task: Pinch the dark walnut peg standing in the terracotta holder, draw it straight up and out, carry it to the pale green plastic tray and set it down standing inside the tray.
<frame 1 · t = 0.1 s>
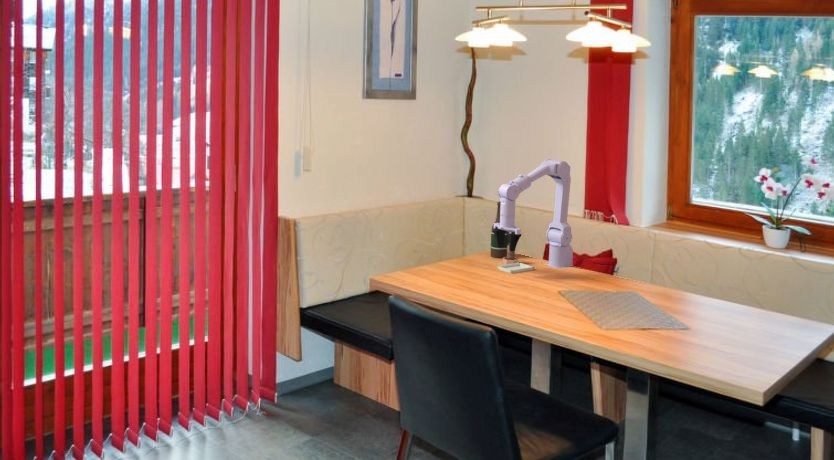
hand: (506, 249, 346), 10 cm above the table, tool pointing down, fingers open, 7 cm apart
peg: (510, 263, 364), resting on holder
holder: (510, 264, 364), on the table
beer bottle: (499, 258, 376), on the table
tray: (515, 270, 354), on the table
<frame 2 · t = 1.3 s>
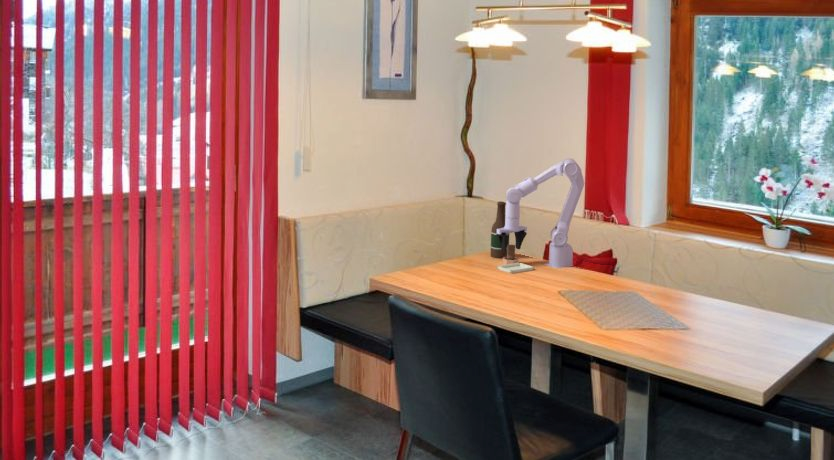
hand: (510, 249, 363), 6 cm above the table, tool pointing down, fingers open, 7 cm apart
nothing on the table moved.
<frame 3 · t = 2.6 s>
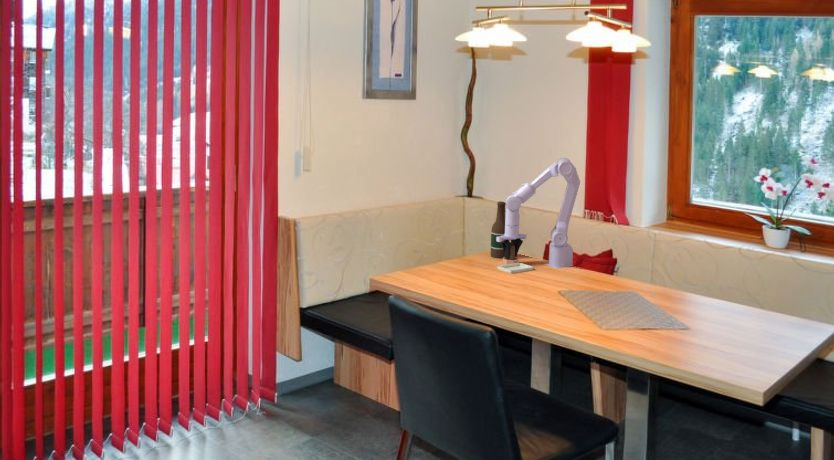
hand: (510, 257, 364), 3 cm above the table, tool pointing down, fingers closed on peg, 3 cm apart
peg: (510, 263, 364), resting on holder, touching gripper
everything else where it was.
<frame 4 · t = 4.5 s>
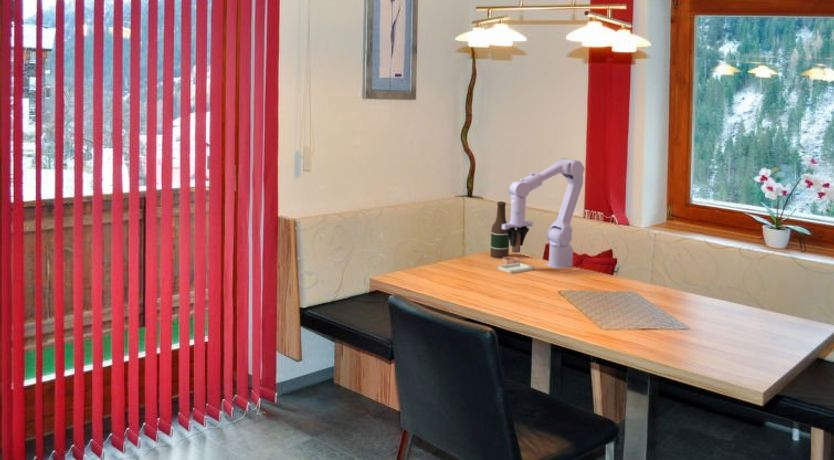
hand: (516, 245, 352), 10 cm above the table, tool pointing down, fingers closed on peg, 3 cm apart
peg: (516, 251, 353), point 8 cm above the table, touching gripper
everything else where it was.
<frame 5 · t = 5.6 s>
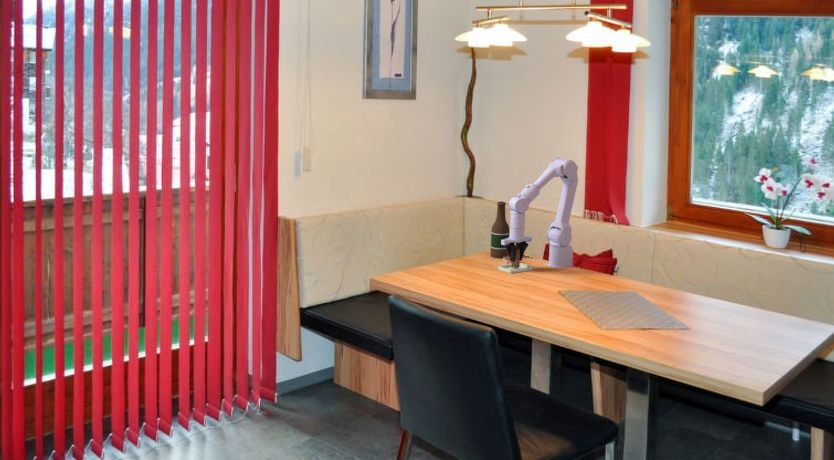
hand: (515, 260, 354), 4 cm above the table, tool pointing down, fingers closed on peg, 3 cm apart
peg: (515, 266, 354), point 1 cm above the table, touching gripper
everything else where it was.
when the fingers open (4 cm above the table, at t = 6.3 s): peg stays where it is, resting on tray.
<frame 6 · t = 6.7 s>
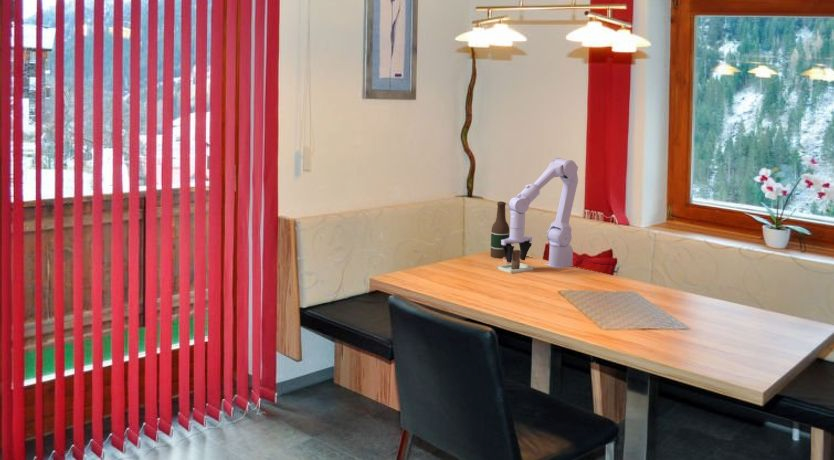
hand: (515, 260, 354), 4 cm above the table, tool pointing down, fingers open, 7 cm apart
peg: (515, 268, 354), point 1 cm above the table, touching tray
everything else where it was.
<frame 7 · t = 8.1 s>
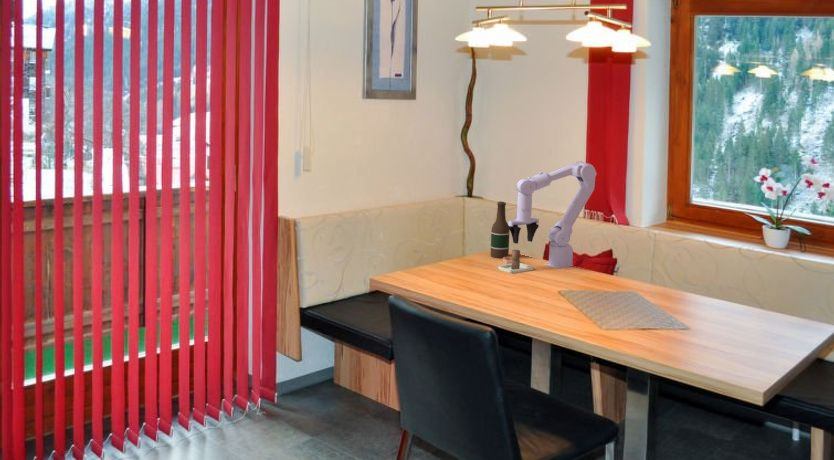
hand: (522, 242, 358), 10 cm above the table, tool pointing down, fingers open, 7 cm apart
nothing on the table moved.
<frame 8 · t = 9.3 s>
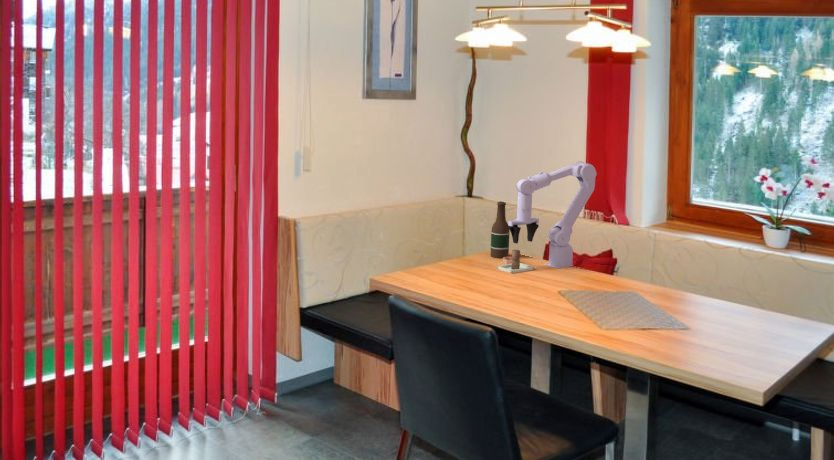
hand: (522, 242, 358), 10 cm above the table, tool pointing down, fingers open, 7 cm apart
nothing on the table moved.
at the end: peg inside the target area on the tray (0.2 cm from its centre), point 0.6 cm above the tray's base; peg tilted 0°; the gripper is holding nothing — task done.
